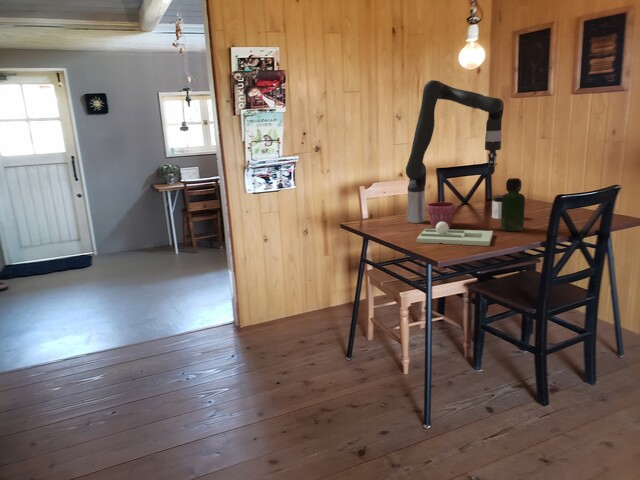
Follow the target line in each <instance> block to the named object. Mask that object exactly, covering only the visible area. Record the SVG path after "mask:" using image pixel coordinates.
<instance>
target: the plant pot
mask: <svg viewBox="0 0 640 480" xmlns="http://www.w3.org/2000/svg"><path fill="white" fill-rule="evenodd" d="M426 212H427V213H428V217H429V220H430V221H429V222H430V225H431V229H436V225H437V224H438V223H439V222H445V223H447V224H448V226H449V230H451V227H452V221H453V217H454V213H455V212H456V204H455V202H449V201H441V202H439V201H438V202H437V201H436V202H430V203H428V204H426Z"/></svg>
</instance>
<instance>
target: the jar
mask: <svg viewBox="0 0 640 480" xmlns="http://www.w3.org/2000/svg"><path fill="white" fill-rule="evenodd" d="M503 195H504V194H495V195H493V197H492V202H491V203H492V204H491V210H492V211H491V218H492V219H496V220H501V207H502V196H503Z"/></svg>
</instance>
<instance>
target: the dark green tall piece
mask: <svg viewBox="0 0 640 480" xmlns="http://www.w3.org/2000/svg"><path fill="white" fill-rule="evenodd" d="M505 189H506V192H507V193H505V194H502V195H503V196H502V207H501V219H500V229H501V230H502V231H505V232H521V231H524V228H525V226H524V225H525V205H526V198H525V196H524V194H522V193H520V192H521V190H522V179H520V178H517V177H515V178H514V177H513V178H512V177H511V178H508V179H507V180H506V183H505Z"/></svg>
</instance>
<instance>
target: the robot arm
mask: <svg viewBox="0 0 640 480" xmlns="http://www.w3.org/2000/svg"><path fill="white" fill-rule="evenodd" d="M422 90H423V91H422V97H421V106H420V110H419V114H418V119H417V123H416V126H415V131H414V136H413V141H412V146H411V151H410V155H409V159H408V161H407V163H406V167H405V174H406V177H407V178H408V179H409V182H408V185H407V205H406V222H407V223H413V224H419V223H425V222H426V209H425V208H426V207H425V206H426V203H425V202H426V194H425V193H426V184H427V168H426V165H425V163H424V157H425V155H426V154H425V153H426V152H427V149H428V148H429V146H430V144H431V142H432V141H431V140H432V138H433V135H434V130H435V121H436V120H435V110H436V105H437V102H438V100H444V101H445V100H446V101H451V102H454V103H457V104H460V105H462V106H466V107H469V108H472V109H478V110H481V111H484V112H487V113H488V115H487V116H488V117H487V118H488V119H487V120H486V124H485V125H486V128H485V136H484V150H485V151H489V153H488V154H487V163H488V175H494V173H495V167H496V162H497V156H498V153H497V151H500V150H501V149H502V125H503V124H502V121H503V120H502V119H503V114H504V101H503V100H502V99H501V98H498V97H492V96H491V97H490V96H486V95H483V94H481V93H477V92H473V91H470V90H465V89H464V90H463V89H458V88H455V87H452V86H449V85H448V84H445V83H443V82H441V81H439V80H435V79H434V80H428V81H427V82H426V83H425V84H424V87H423V89H422Z"/></svg>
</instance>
